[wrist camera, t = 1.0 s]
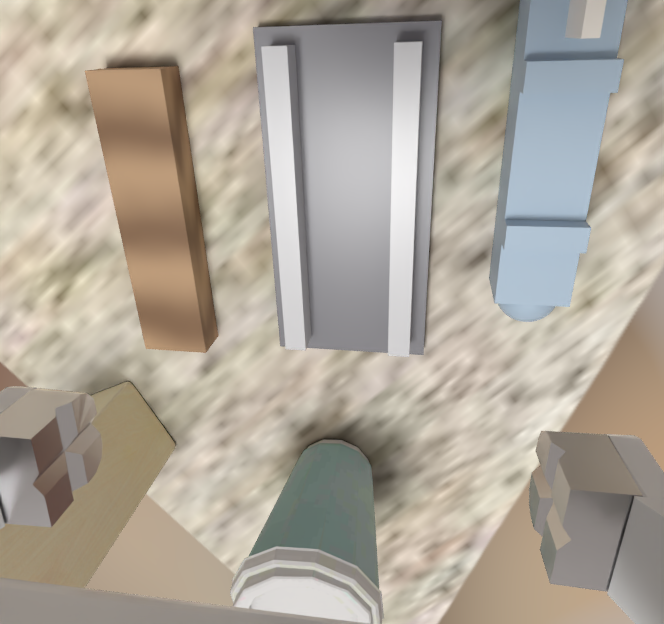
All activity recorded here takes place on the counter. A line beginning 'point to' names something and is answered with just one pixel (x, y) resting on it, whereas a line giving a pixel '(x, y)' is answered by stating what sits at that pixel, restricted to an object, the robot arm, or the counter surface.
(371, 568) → the disposable coffee cup
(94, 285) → the counter surface
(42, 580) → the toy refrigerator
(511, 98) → the pale blue tabbed body
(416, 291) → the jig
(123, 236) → the brown long rectangular bar
